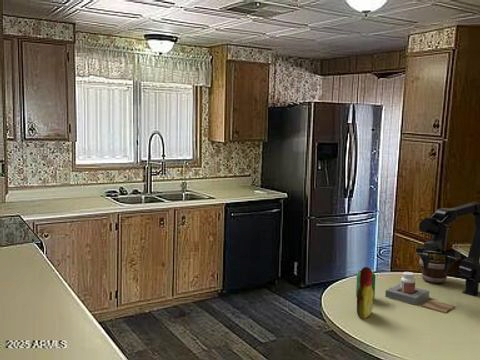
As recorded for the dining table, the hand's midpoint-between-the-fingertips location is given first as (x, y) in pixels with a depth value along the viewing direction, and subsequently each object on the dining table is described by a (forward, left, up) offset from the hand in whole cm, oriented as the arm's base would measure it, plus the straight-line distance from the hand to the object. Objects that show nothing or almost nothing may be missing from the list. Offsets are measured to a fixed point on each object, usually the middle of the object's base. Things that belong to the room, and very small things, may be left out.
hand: (435, 272), depth 213 cm
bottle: (+36, -13, -14) cm, 41 cm away
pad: (+4, +4, -14) cm, 15 cm away
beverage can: (+18, -23, -14) cm, 32 cm away
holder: (+2, -11, -14) cm, 18 cm away
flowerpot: (-31, -13, -14) cm, 36 cm away
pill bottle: (+2, -11, -14) cm, 18 cm away
